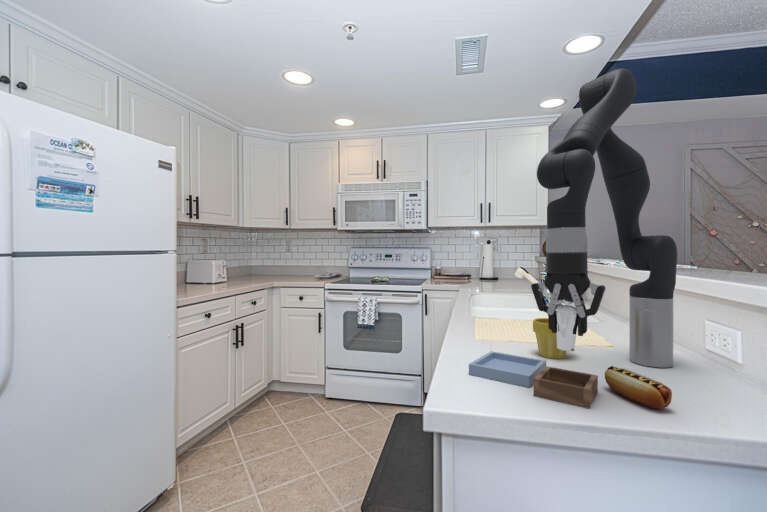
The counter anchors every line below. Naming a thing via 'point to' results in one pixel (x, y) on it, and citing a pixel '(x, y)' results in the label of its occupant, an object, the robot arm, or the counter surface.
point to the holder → (566, 386)
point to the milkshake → (566, 327)
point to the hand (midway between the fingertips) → (567, 333)
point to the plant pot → (547, 339)
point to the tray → (507, 368)
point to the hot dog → (638, 387)
